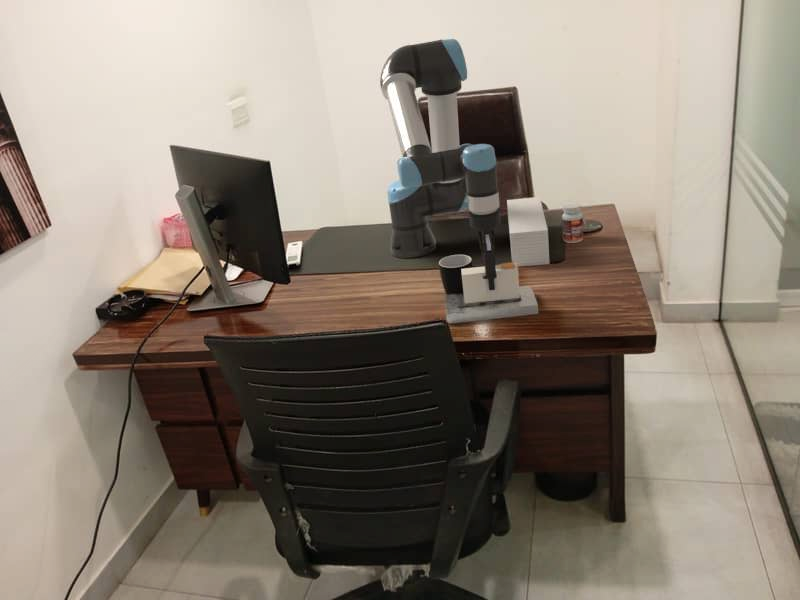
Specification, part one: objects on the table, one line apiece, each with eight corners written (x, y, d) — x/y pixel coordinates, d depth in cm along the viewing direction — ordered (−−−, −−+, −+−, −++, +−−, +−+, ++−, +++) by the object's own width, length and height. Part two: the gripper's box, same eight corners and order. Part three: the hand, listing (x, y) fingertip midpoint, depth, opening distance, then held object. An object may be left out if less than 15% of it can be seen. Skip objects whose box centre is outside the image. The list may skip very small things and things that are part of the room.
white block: (464, 303, 176) (460, 266, 172) (518, 297, 175) (515, 260, 170) (465, 309, 172) (461, 272, 168) (520, 304, 171) (517, 266, 167)
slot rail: (445, 303, 181) (444, 295, 180) (531, 293, 179) (530, 285, 178) (447, 324, 170) (446, 315, 169) (538, 313, 168) (537, 304, 167)
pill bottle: (574, 245, 205) (572, 210, 200) (558, 241, 210) (557, 206, 205) (587, 239, 208) (586, 204, 203) (572, 235, 213) (571, 201, 208)
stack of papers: (509, 230, 225) (506, 200, 221) (541, 227, 224) (539, 196, 219) (512, 267, 197) (510, 233, 192) (549, 264, 195) (547, 229, 191)
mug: (473, 301, 180) (469, 266, 175) (440, 302, 182) (436, 268, 178) (478, 282, 190) (475, 249, 186) (447, 283, 192) (443, 251, 188)
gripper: (466, 201, 171) (474, 284, 181) (470, 222, 155) (479, 312, 165) (495, 197, 170) (502, 281, 180) (503, 218, 155) (510, 309, 165)
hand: (491, 296), depth 173 cm, fingers closed on white block, 4 cm apart
